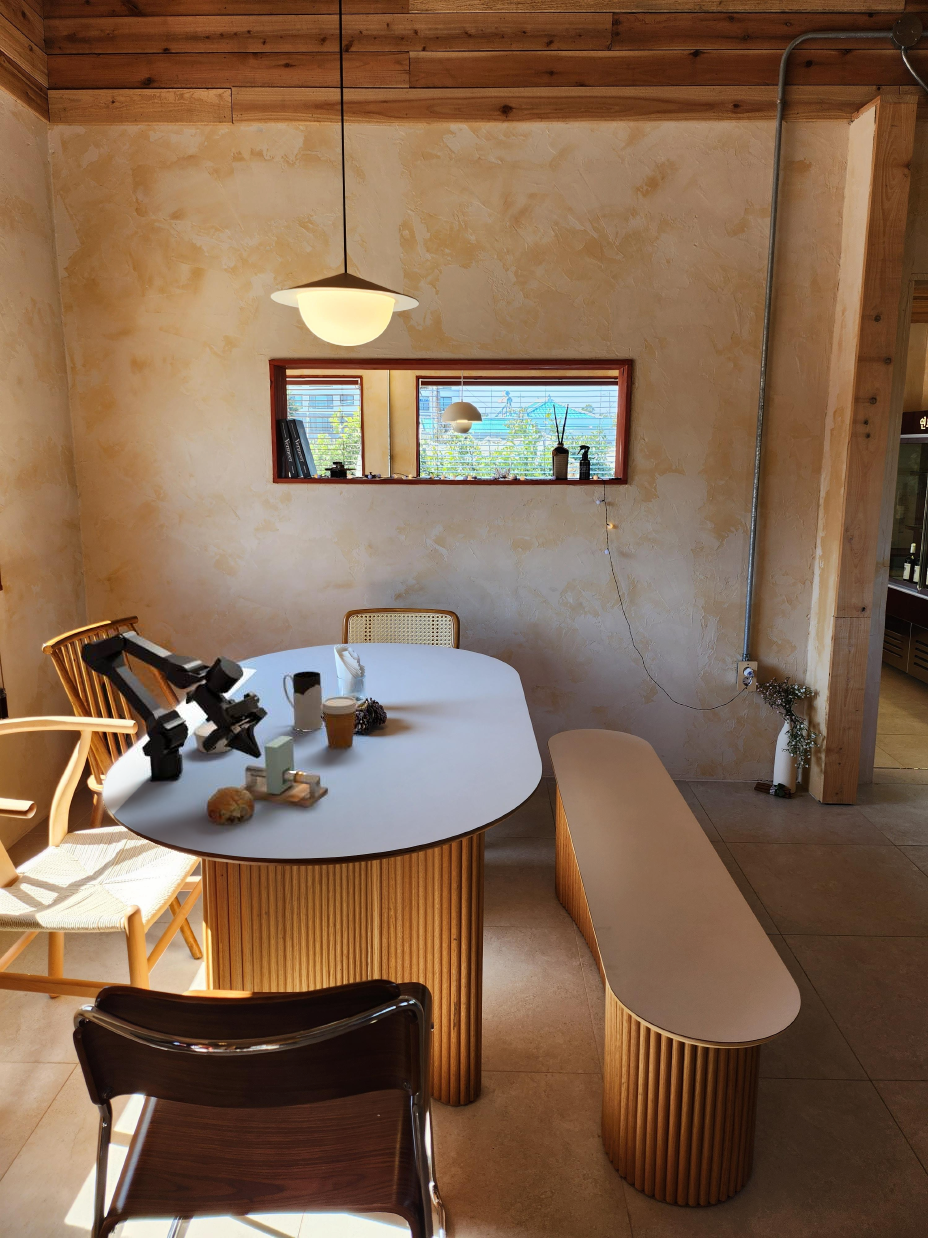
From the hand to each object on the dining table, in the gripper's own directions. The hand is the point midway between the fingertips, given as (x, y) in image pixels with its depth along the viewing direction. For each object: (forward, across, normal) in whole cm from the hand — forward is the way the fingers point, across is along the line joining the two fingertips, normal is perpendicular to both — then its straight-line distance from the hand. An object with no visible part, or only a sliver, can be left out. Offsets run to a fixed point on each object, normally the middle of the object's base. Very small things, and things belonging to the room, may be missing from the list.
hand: (259, 757), depth 189 cm
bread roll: (+7, -14, +5) cm, 16 cm away
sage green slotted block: (+8, 0, +1) cm, 9 cm away
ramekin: (-13, +21, +25) cm, 35 cm away
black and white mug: (-5, +45, +17) cm, 48 cm away
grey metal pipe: (+9, 0, +1) cm, 9 cm away
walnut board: (+9, 0, +2) cm, 10 cm away
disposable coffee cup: (+8, +33, +4) cm, 34 cm away
